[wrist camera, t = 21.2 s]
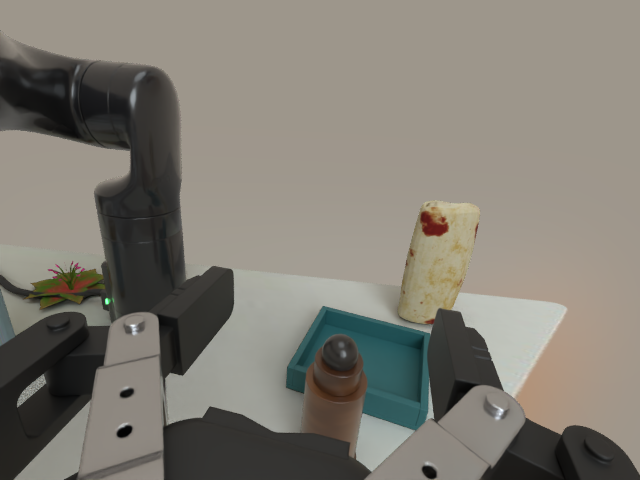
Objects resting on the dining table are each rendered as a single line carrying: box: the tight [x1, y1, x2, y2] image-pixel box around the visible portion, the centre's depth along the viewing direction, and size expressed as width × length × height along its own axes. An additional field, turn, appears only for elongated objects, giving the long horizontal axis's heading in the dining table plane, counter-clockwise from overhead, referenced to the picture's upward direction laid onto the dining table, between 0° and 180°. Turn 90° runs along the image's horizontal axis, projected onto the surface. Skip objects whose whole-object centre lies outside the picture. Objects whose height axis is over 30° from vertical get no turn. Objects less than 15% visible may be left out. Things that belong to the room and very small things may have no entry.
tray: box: [286, 306, 430, 430], centre depth 43 cm, size 16×14×3 cm
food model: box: [398, 200, 480, 324], centre depth 51 cm, size 10×7×20 cm
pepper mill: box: [301, 334, 367, 459], centre depth 29 cm, size 6×6×14 cm
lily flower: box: [23, 261, 105, 310], centre depth 53 cm, size 12×12×5 cm
